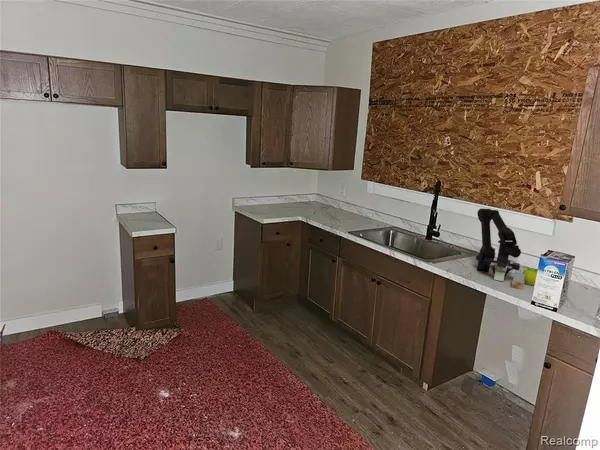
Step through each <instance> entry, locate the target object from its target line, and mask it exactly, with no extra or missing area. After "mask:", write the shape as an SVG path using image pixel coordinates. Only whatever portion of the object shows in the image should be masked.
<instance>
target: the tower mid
mask: <svg viewBox="0 0 600 450" xmlns="http://www.w3.org/2000/svg"><path fill="white" fill-rule="evenodd" d="M522 273H523V272H517V271H515V273H514V276H513V278H514V280H513V279H512V280H513V281H514V282H519V283H523V282H524V277H525V274H522Z"/></svg>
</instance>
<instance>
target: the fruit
mask: <svg viewBox="0 0 600 450" xmlns="http://www.w3.org/2000/svg"><path fill="white" fill-rule="evenodd" d="M523 269H524V270H523V271H522V272H521V273H522V274H525V277H524V281H525V283H524V284H526V285H529V286H534V283H535V278H536V274H537V270H538V269H539V268H533V267H532V268H530V267H527V266H523Z"/></svg>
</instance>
